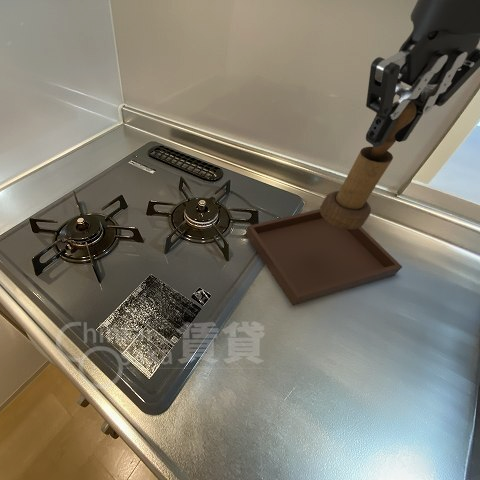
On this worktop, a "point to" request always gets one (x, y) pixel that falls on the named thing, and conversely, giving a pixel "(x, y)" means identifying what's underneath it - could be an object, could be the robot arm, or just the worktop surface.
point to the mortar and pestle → (362, 180)
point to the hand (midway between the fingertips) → (385, 140)
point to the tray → (318, 256)
